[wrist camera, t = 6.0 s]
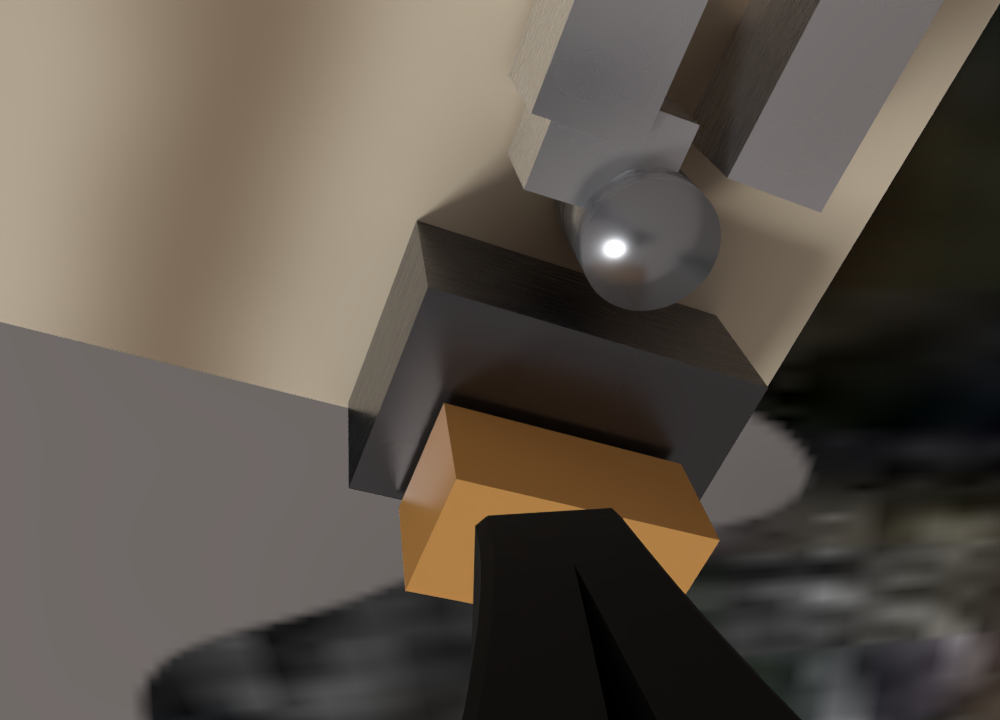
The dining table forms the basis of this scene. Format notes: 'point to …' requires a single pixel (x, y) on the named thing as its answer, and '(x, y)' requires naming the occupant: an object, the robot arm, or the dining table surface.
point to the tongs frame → (601, 325)
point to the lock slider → (537, 497)
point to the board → (345, 174)
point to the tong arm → (615, 144)
